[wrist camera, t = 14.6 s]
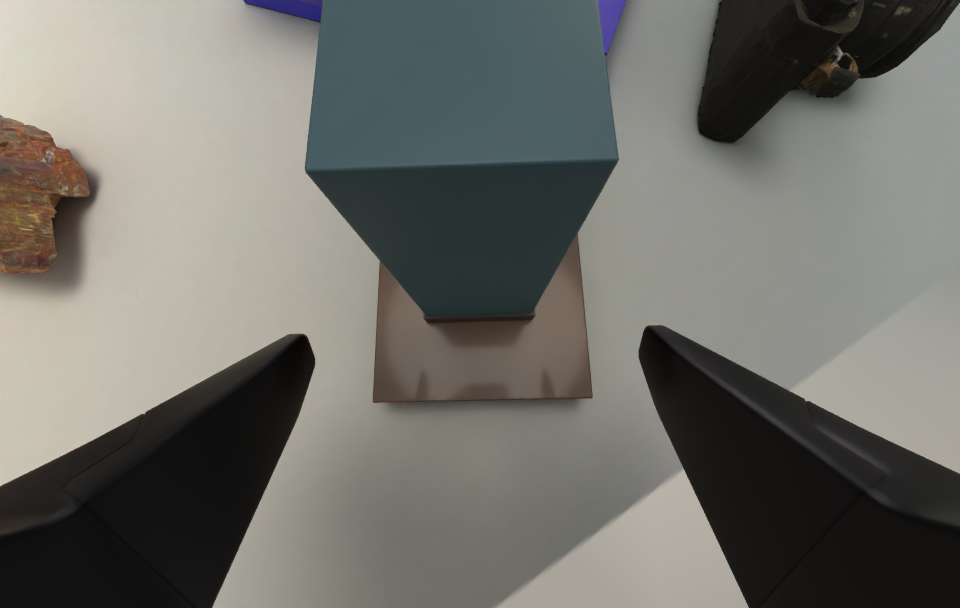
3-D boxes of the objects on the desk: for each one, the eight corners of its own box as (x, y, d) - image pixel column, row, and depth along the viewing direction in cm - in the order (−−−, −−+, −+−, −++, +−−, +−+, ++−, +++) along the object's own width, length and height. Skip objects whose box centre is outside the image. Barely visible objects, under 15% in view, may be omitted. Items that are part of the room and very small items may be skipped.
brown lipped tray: (580, 397, 20) (613, 399, 15) (386, 401, 20) (349, 405, 15) (559, 150, 24) (580, 81, 18) (396, 156, 24) (370, 88, 19)
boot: (533, 320, 19) (628, 170, 6) (426, 322, 19) (295, 182, 6) (523, 153, 21) (575, -208, 8) (428, 157, 21) (337, -195, 8)
